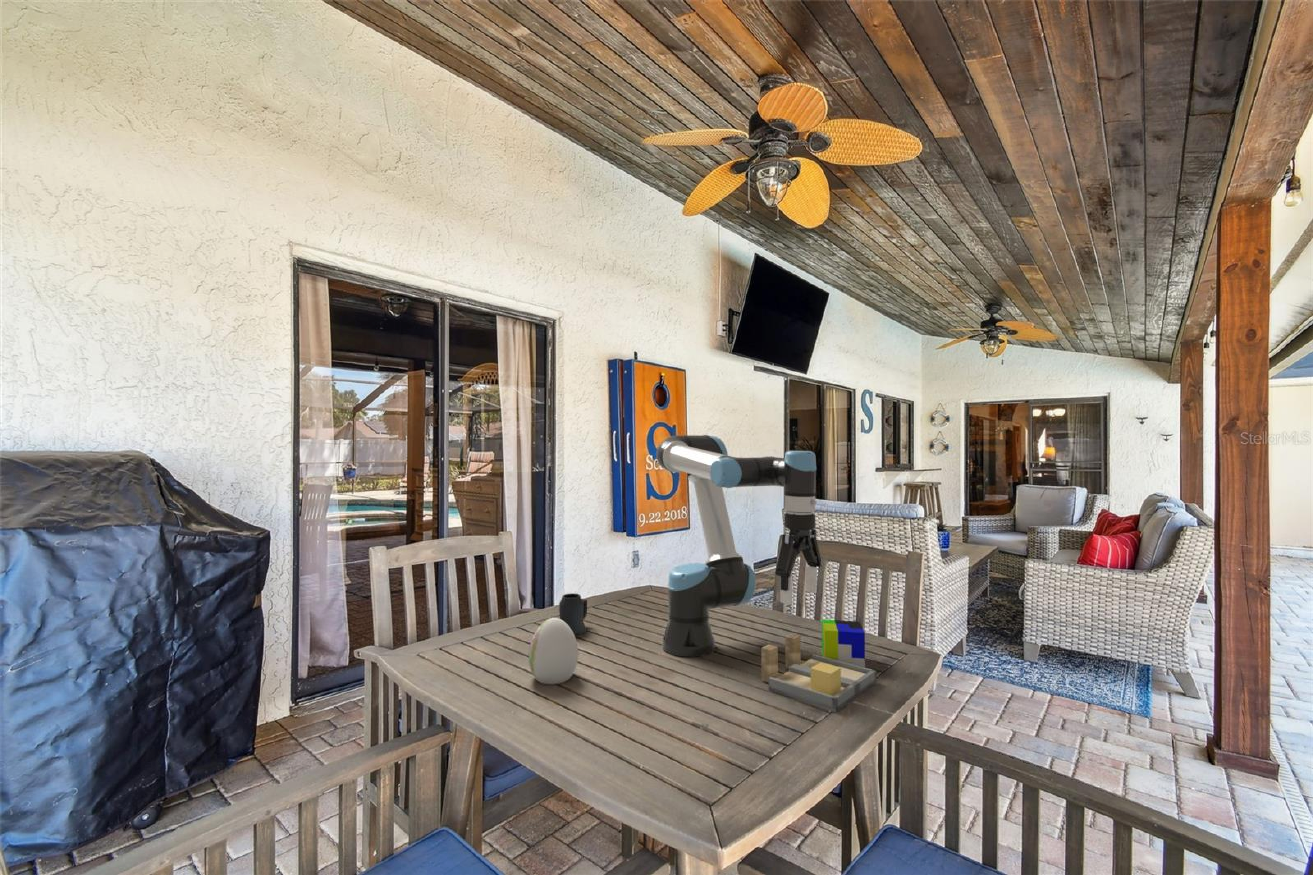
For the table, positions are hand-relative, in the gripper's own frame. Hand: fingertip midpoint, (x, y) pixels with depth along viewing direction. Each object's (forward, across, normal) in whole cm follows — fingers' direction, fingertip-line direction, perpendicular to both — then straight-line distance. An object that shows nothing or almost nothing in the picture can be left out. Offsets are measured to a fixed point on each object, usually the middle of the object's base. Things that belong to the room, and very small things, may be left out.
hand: (798, 597), depth 147 cm
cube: (+18, -6, -10) cm, 22 cm away
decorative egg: (+21, -39, +48) cm, 65 cm away
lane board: (+20, 0, -7) cm, 21 cm away
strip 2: (+20, -6, -3) cm, 21 cm away
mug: (+22, -10, +72) cm, 76 cm away
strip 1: (+20, +6, +1) cm, 21 cm away
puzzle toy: (+21, +18, -4) cm, 28 cm away
